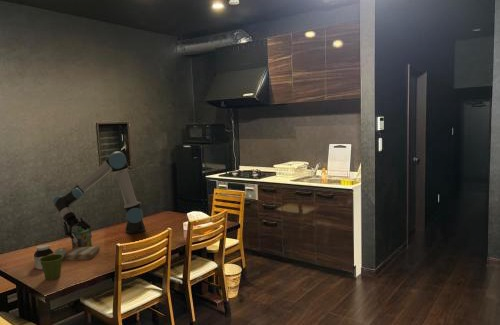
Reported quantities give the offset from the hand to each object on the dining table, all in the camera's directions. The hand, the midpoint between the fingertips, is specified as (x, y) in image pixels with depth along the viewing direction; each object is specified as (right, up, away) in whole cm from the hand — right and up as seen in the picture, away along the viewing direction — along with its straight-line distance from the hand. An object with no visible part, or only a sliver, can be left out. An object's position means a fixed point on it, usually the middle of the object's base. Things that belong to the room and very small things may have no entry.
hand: (84, 239), depth 256 cm
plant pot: (+4, -11, -48) cm, 50 cm away
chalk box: (-2, -6, +2) cm, 7 cm away
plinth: (+5, -7, -13) cm, 16 cm away
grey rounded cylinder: (-6, -8, -18) cm, 21 cm away
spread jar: (-10, -10, -31) cm, 34 cm away
